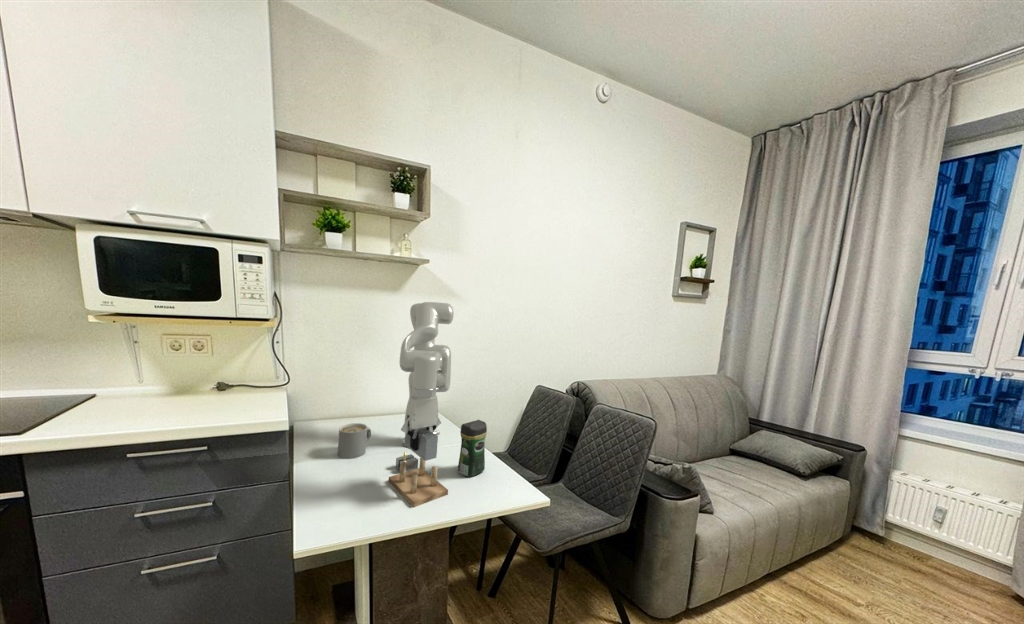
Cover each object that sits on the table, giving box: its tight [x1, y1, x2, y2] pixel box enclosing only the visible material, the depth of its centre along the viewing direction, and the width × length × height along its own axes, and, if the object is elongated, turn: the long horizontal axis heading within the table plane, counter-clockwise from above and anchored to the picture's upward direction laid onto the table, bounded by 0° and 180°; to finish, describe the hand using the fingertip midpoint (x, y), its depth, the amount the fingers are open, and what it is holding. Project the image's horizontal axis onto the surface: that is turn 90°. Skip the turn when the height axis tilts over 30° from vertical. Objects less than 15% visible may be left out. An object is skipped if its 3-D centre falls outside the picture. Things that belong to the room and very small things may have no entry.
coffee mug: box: [337, 422, 372, 460], centre depth 138 cm, size 13×10×10 cm
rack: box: [388, 457, 449, 508], centre depth 115 cm, size 12×18×8 cm, turn 43°
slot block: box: [395, 451, 419, 472], centre depth 128 cm, size 6×5×6 cm
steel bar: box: [404, 426, 439, 462], centre depth 115 cm, size 4×14×7 cm, turn 43°
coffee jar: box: [457, 419, 488, 478], centre depth 129 cm, size 10×8×19 cm
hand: (420, 447), depth 115 cm, fingers closed on steel bar, 4 cm apart
